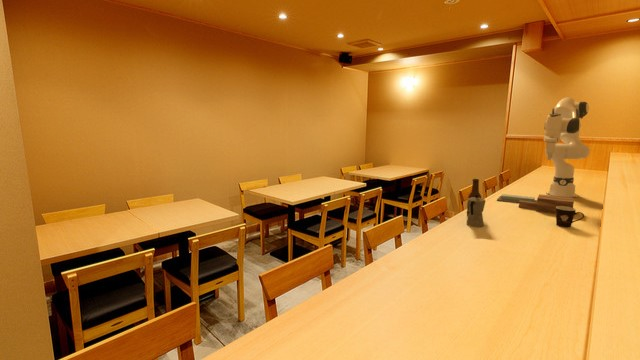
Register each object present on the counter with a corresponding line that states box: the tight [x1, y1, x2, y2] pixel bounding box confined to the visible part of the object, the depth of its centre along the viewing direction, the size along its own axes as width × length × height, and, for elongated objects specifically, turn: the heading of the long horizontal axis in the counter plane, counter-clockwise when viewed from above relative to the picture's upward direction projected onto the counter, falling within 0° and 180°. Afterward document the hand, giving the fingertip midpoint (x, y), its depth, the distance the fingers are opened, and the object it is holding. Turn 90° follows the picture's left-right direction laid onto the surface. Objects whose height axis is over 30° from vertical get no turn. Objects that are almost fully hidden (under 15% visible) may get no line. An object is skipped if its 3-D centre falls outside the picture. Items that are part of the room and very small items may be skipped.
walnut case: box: [518, 194, 575, 215], centre depth 199 cm, size 12×28×9 cm, turn 50°
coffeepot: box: [466, 194, 486, 228], centre depth 175 cm, size 15×9×18 cm, turn 137°
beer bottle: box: [466, 178, 482, 218], centre depth 188 cm, size 8×8×24 cm
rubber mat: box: [496, 195, 537, 204], centre depth 221 cm, size 12×26×1 cm, turn 50°
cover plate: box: [500, 193, 536, 202], centre depth 222 cm, size 6×20×2 cm, turn 50°
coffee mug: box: [555, 206, 585, 229], centre depth 169 cm, size 12×9×10 cm
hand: (549, 159), depth 208 cm, fingers open, 8 cm apart
